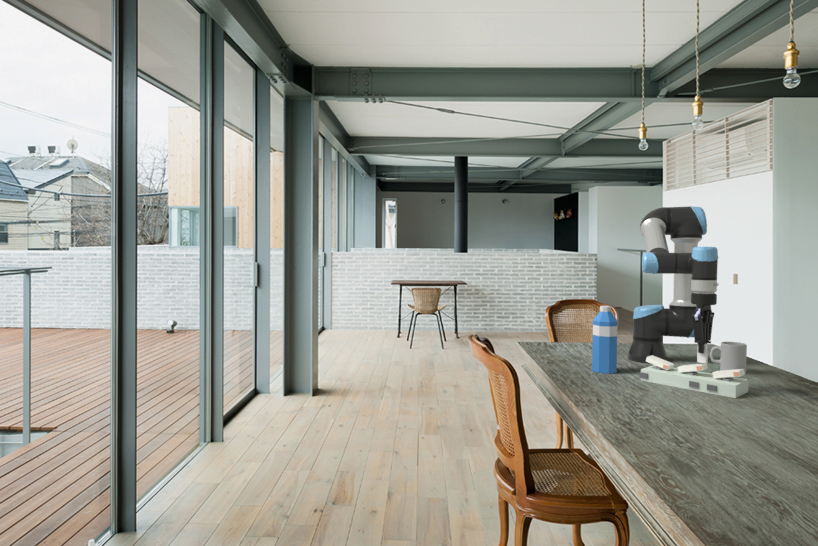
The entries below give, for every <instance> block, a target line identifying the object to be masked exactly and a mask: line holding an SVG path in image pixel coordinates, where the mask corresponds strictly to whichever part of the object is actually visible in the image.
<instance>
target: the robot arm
mask: <svg viewBox="0 0 818 546" xmlns="http://www.w3.org/2000/svg"><path fill="white" fill-rule="evenodd" d="M707 223H708V222H707V217H706V213H705V210H704V208H702V207H700V206H691V205H690V206H673V207H671V206H669V207H665V206H664V207H663V206H661V207H658V208H656V209H653V210H651V211H649V212H648V213H646V215H645V216H644V217H643V218H642V220H641V221H640V226H639V230H640V233H641V235H642V237H643V240H644V244H645V251H646V252H644V253H643V254H642V258H641V266H642V268H641V270H642V272H643V273H645V274H653V275H655V274H661V275H662V274H673V300H672V301H671V302H670V303H669V304H668V305H669V306H668V308H667V307H666V308H665V306H664V304H647V305H641V306H637V307H636V306H635V308H634V309H633V316H632V319H633V323H632V324H633V327H632V328H633V329H632V342H631V345H630V347H629V351H628V353H627V354H628V357H627V358H628V359H629V360H631V361H634V362H638V363H647V364H649V363H648V362H646V358H647V357H648V356H651V355H653V356H656V357H658V358H661V359H663V360H666V361H668V354H667V352H666V349H665V345H664V337H675V338H677V337H679V338H687V339H688V338H694V343H696V344H697V345H696V346H697V352H696V353H697V354H696V358H697V359H696V363H699V364H705V363H707V364H708V353H709V351H708V350H709V344H712V341H711V340H712V330H713V321H714V317H715V312H712V311H713V310H712V306H716V305H717V303H718V302H717V299H718V298H717V296H718V294H717V292H718V289H717V288H718V286H720V285H719V283H718V262H719V255H718V254H719V253H718V250H719V249H718V248H717V247H715V246H698V245H699V243H700V242H701V241H702V240H703V236H705V235H707V232H708V224H707ZM666 236H670V238H669V239H670V241H671V242H673V244H674V245H673V246H674V250H673V251H674V252H670V251H669V247H668V243H667V239H666Z"/></svg>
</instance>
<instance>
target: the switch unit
mask: <svg viewBox="0 0 818 546" xmlns="http://www.w3.org/2000/svg"><path fill="white" fill-rule="evenodd" d="M639 378H640V381H641V382H643V381H644V382H649V383H654V384H658V385H662V386H668V387H669V386H670V387H674V388H680V389H684V390H689V391H693V392H701V393H705V394H710V395H716V396H722V397H727V398H731V399H732V398H733V399H736V398H739V397H741V396H743V395H745V394H746V393H749V379H747V378H742V377H724V378H713V374H712V373H709V372H704V371H689V372H678V368H677V367H675V366H674V367H673V369H670V370H665V369H663V368H661V367H658V366H656V365H653V364H652V365H650V366H647V367H643V368H641V369H640V371H639Z"/></svg>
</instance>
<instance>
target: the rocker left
mask: <svg viewBox="0 0 818 546" xmlns="http://www.w3.org/2000/svg"><path fill="white" fill-rule="evenodd" d="M646 362H648V363H647V364H651V365H652V366H653V365H656V366H658V367H661V368H663V369H665V370H670V369H673V367H674V368H675V363H673V362H671V361H668V360H667V361H666V360H663V359H661V358H658V357H656V356H653V355H651V356H648V357H647V358H646ZM646 362H645V363H646Z"/></svg>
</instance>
